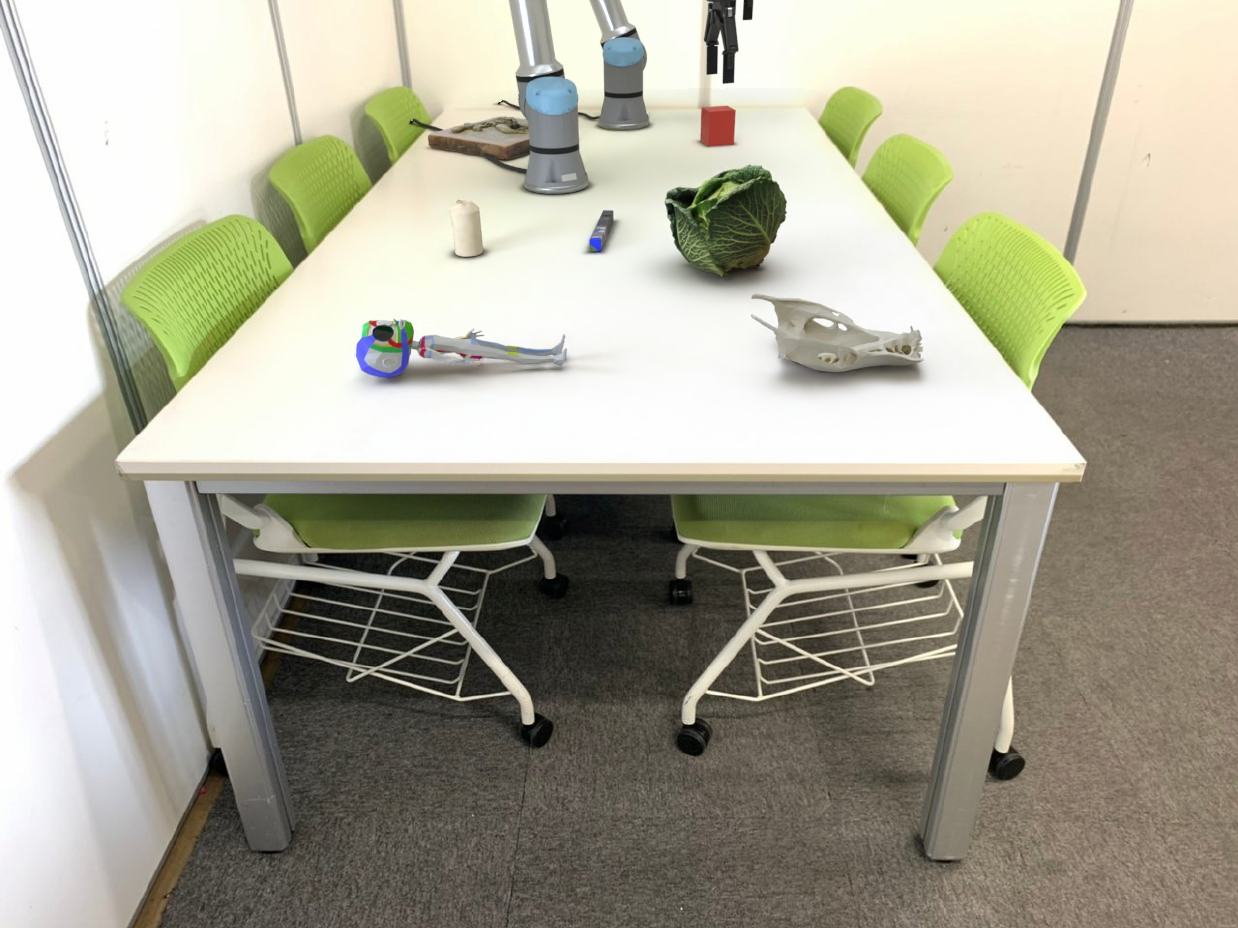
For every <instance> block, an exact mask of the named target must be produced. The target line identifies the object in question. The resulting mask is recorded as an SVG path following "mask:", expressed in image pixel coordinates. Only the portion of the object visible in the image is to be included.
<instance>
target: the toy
mask: <svg viewBox="0 0 1238 928" xmlns="http://www.w3.org/2000/svg"><path fill="white" fill-rule="evenodd" d="M474 331H475V328H472V329H471V330H469V331H468V332H467V333H466V334H465V335H463V336H458V337H449V336H448V337H447V336H442V335H439V334H428V335H423V336H421V338H420V339H419V341H417V340H414V336H415V329H414V326H413V324H412V322H410V321H408V320H407V319H399V320H397V319H395V318H392V320H387V319H379V320H368V321H367V322H365V323H364V324H362V326H361V329H360V331H359V333H358V334H357V338H356V340H355V342H354V354H353V355H354V357H355V359H356V362H357V364H358V366H359V369H360V370H361V372H364V373H366V374H367V375H370V376H373V377H377V378H382V379H383V378H384V379H392V378H394V377H396V376H398V375H400V374H401V375H402V374H403V372H404V371H405V370H406V368H407V367H408V366H409V364H410V357H411V355H412V350H415V351H417V353H418V356H419V357H421V358H422V359H430V360H434V361H438V362H442V363H444V364H449V365H458V364H459V365H461V364H465V365H471V366H477V367H479V368H480V367H481V366H482V365H483V363H482V362H478V361H480V360H482V359H487V360H488V359H489V360H503V361H509V362H514V363H517V364H520V365H528V366H529V365H542V364H550V363H553V364H555V365H557V366H559V367H562V366H563V364H564V362H565V361H566V360H567V357H568V355H567V353H568V348H566V347H565V348H564V345H565V340H566V334H565V333H563V334H562V338H561V340H560V341H559V343H558V344H556V345H555V346H554V347H552V348H533V347H532V348H531V347H523V346H518V345H517V346H516V345H504V344H501V343H498V342H494V341H488V340H482V339H478V338H479V337H480V338H481V337H485V334H480V333H482V332H483V331H482V330H479V331H476V332H474ZM563 349H564V350H563ZM453 353H455V354H457V355H459V357H458V356H455V355H448V354H453ZM445 354H447V355H445Z"/></svg>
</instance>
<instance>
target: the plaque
mask: <svg viewBox="0 0 1238 928" xmlns="http://www.w3.org/2000/svg"><path fill="white" fill-rule="evenodd" d="M427 143H428V146H429V147H431V148H436V149H440V150H446V151H451V152H452V151H453V152H458V153H463V154H470V155H474V156H482V157H484V156H483V154H484V153H486V154H488V155H490V156H492V157H493V158H495V159H497V160H506V161H508V160H511V159H516V158H520V157H523V156H526V155H530V142H529V127H528V121H527V119H526V118H520V117H514V116H507V115H503V116H502V115H501V116H494V117H490V118H487V119H484V120H480V121H477V122H464V123H463V124H459V125H456V126H452V127H448V128H446V129H443V130H442V131H434V132H431V133H429V134H428V135H427Z"/></svg>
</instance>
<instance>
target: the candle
mask: <svg viewBox="0 0 1238 928" xmlns="http://www.w3.org/2000/svg"><path fill="white" fill-rule="evenodd" d="M449 212H450V213H449V214H450V222H451V228H452V231H451V232H452V239H453V247H454V253H455V255H457V256H459V257H465V258H466V257H467V258H468V257H475V256H479V255H481V254H483V252H484V242H483V234H482V233H483V232H482V231H483V230H482V222H481V221H482V220H481V212H480V207H479V205H478V204H476V203H475V202H474V201H472V200H470V201H468V200H465V199H464V200H462V199H457V200H456V201H455V202H454V203H453V205H452V206H451V207H450V209H449Z"/></svg>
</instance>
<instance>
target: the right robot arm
mask: <svg viewBox="0 0 1238 928" xmlns="http://www.w3.org/2000/svg"><path fill="white" fill-rule="evenodd" d="M588 2H589V4H590V6H591V8H592V12H593V14H594V16H595V19H596V23H597V25H598V27H599V29H600V32H601V38H600V39H599V44H600V47H601V50H602V58H603V102H602V105H601V110H600V114H599V115H597V116H592V115H589V114H588V113H586V112H581V111H578V116H584V117H585V118H587V119H589V120H598V126H599V127H600V128H602V129H605V130H612V131H634V130H640V129H645V128H647V127H649V125H650V115H649V113H647V108H646V104H645V100H644V71H645V68H646V66H647V61H648V53H647V50H646V47H645V45H644V43H643V42H642V41H641V38H640V35H639V32H638V30H637V27H636V26H635V25H634V24H633V23H630V22H629V19H628V17H627V14H626V12H625V9H624V6H623V3H622V1H621V0H588ZM742 3H743V4H742V21H753V14H754V0H743V2H742ZM730 7H735V16H736V15H737V13H736V12H737V0H735V1H731V2H730ZM501 100H502V101H501V102H499V101H498V102H497V105H499V106H500V105H501V104H503V103H504V104H506V105H507V106H509V107H512V108H514V109H518V110H520V107H519V105H516V104H513V103H510V102H509V101H507V100H506V99H501Z"/></svg>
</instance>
